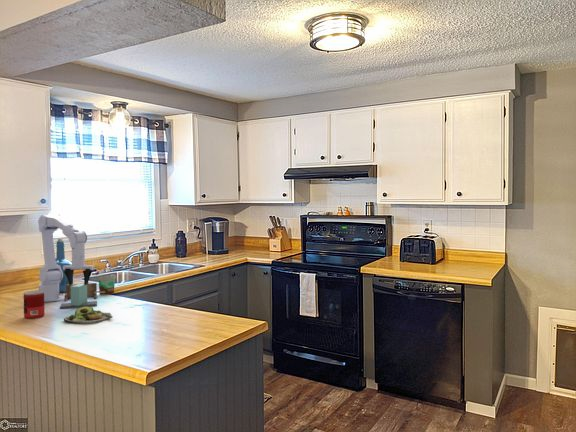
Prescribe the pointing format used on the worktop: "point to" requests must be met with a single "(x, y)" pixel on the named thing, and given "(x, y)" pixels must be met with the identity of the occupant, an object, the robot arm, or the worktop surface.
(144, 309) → the worktop surface
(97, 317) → the salad plate
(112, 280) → the food container
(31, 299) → the canned food
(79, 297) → the pale green block
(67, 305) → the rubber mat
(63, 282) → the wine bottle
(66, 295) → the brown banded box
